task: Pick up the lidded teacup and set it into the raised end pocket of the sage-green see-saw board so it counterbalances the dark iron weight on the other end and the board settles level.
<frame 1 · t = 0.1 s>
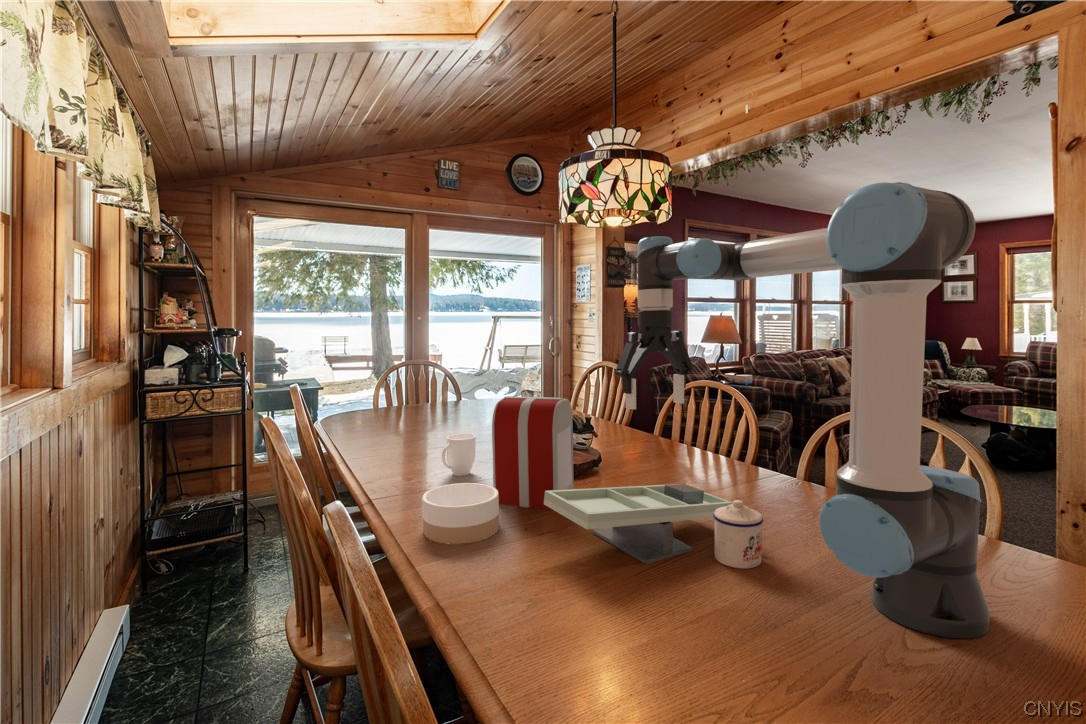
hand: (655, 405, 120), 28 cm above the table, fingers open, 13 cm apart
teacup with lid: (740, 557, 106), on the table
bowl: (461, 530, 124), on the table
fulcrum: (640, 541, 115), on the table
divided tray: (640, 503, 114), point 8 cm above the table, hinge at 7.3°, touching iron weight
mug: (458, 475, 167), on the table
iron weight: (683, 501, 120), point 7 cm above the table, tilted 7°, touching divided tray
red striped block: (534, 497, 145), on the table
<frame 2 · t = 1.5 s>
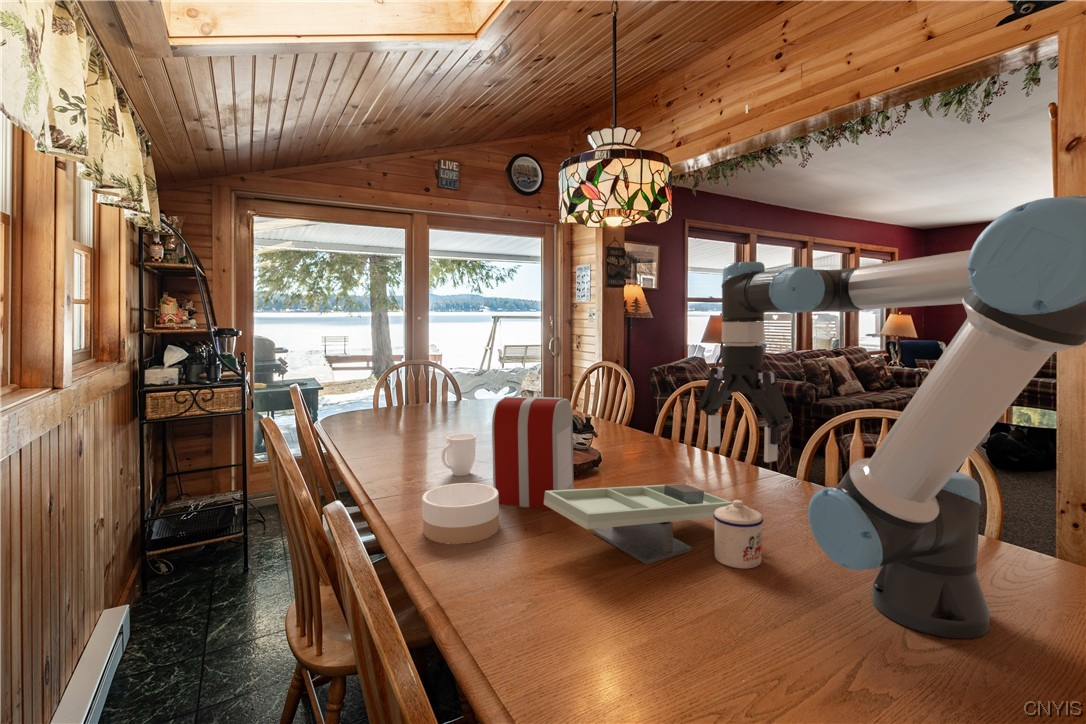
hand: (740, 453, 105), 21 cm above the table, fingers open, 13 cm apart
nothing on the table moved.
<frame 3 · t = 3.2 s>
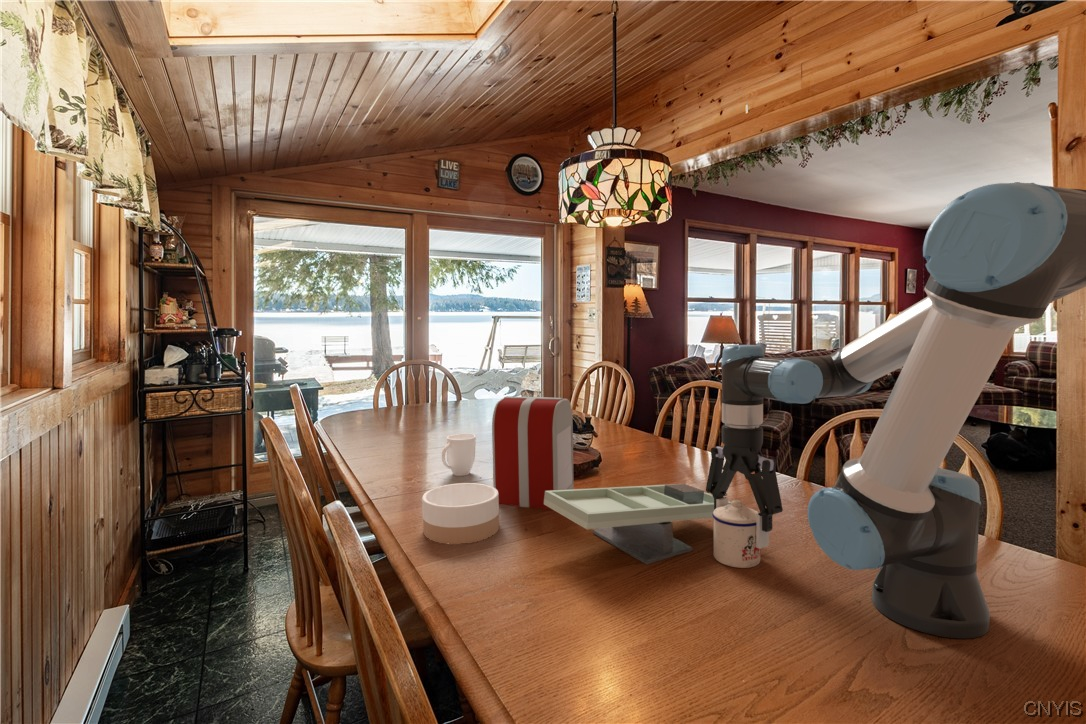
hand: (741, 537, 106), 4 cm above the table, fingers closed on teacup with lid, 9 cm apart
teacup with lid: (739, 557, 107), on the table, touching gripper
everything else where it was.
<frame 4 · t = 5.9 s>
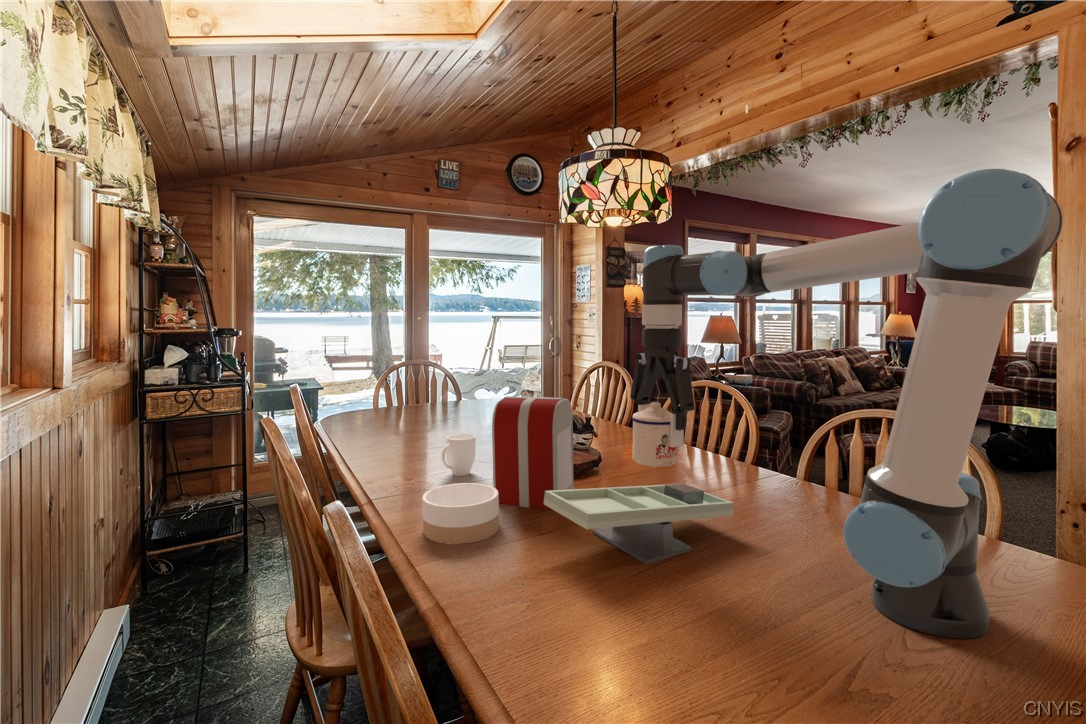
hand: (659, 440, 107), 23 cm above the table, fingers closed on teacup with lid, 9 cm apart
teacup with lid: (658, 460, 108), point 19 cm above the table, touching gripper
everything else where it was.
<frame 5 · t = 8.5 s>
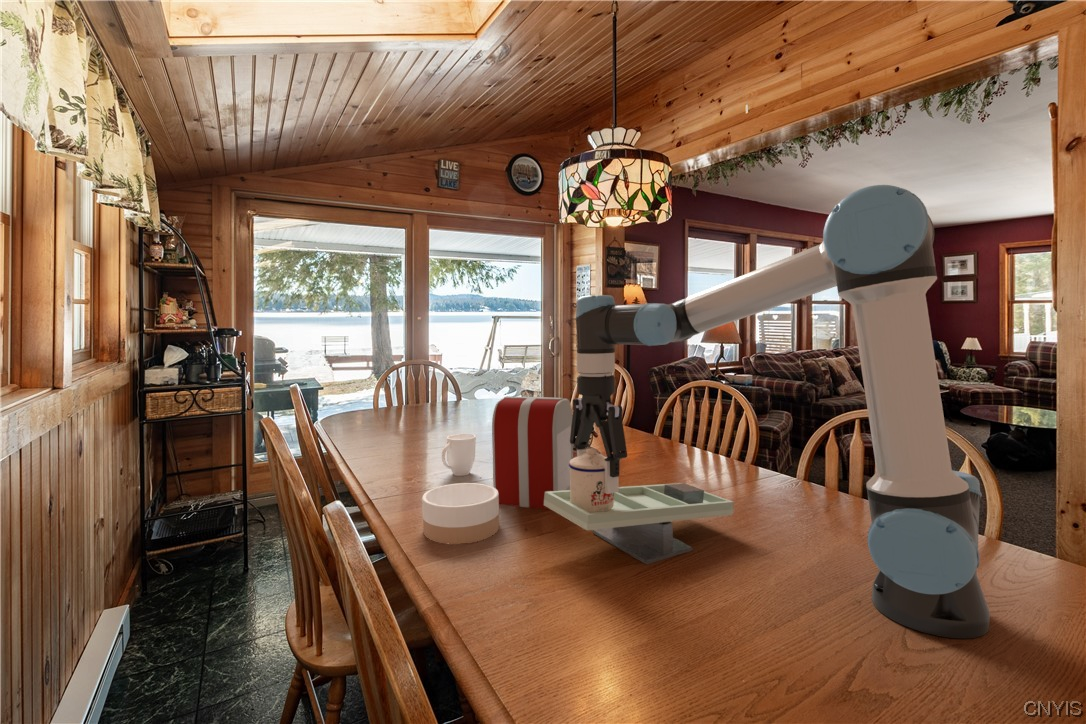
hand: (597, 485, 108), 14 cm above the table, fingers closed on teacup with lid, 9 cm apart
teacup with lid: (596, 505, 109), point 10 cm above the table, touching divided tray, gripper
divided tray: (640, 503, 114), point 8 cm above the table, hinge at 6.7°, touching iron weight, teacup with lid
everything else where it was.
when the fingers open (14 cm above the table, at t = 8.7 s): teacup with lid stays where it is, resting on divided tray.
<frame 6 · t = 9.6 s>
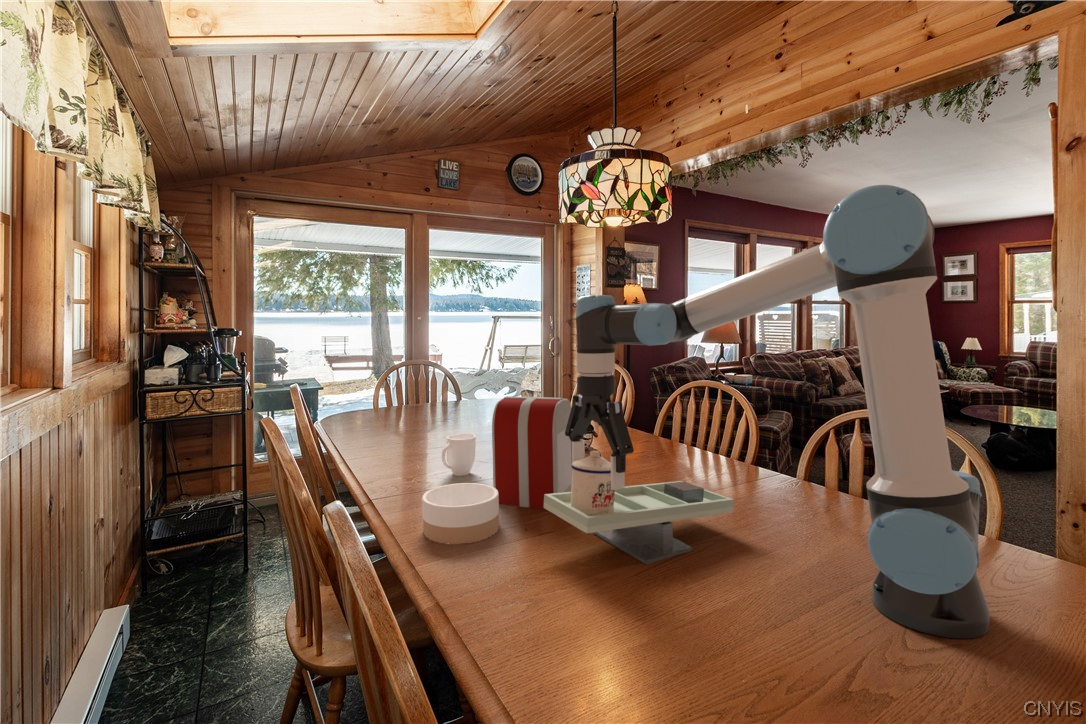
hand: (597, 479, 108), 15 cm above the table, fingers open, 13 cm apart
teacup with lid: (596, 509, 109), point 9 cm above the table, touching divided tray
divided tray: (640, 503, 114), point 8 cm above the table, hinge at 5.1°, touching iron weight, teacup with lid
everything else where it was.
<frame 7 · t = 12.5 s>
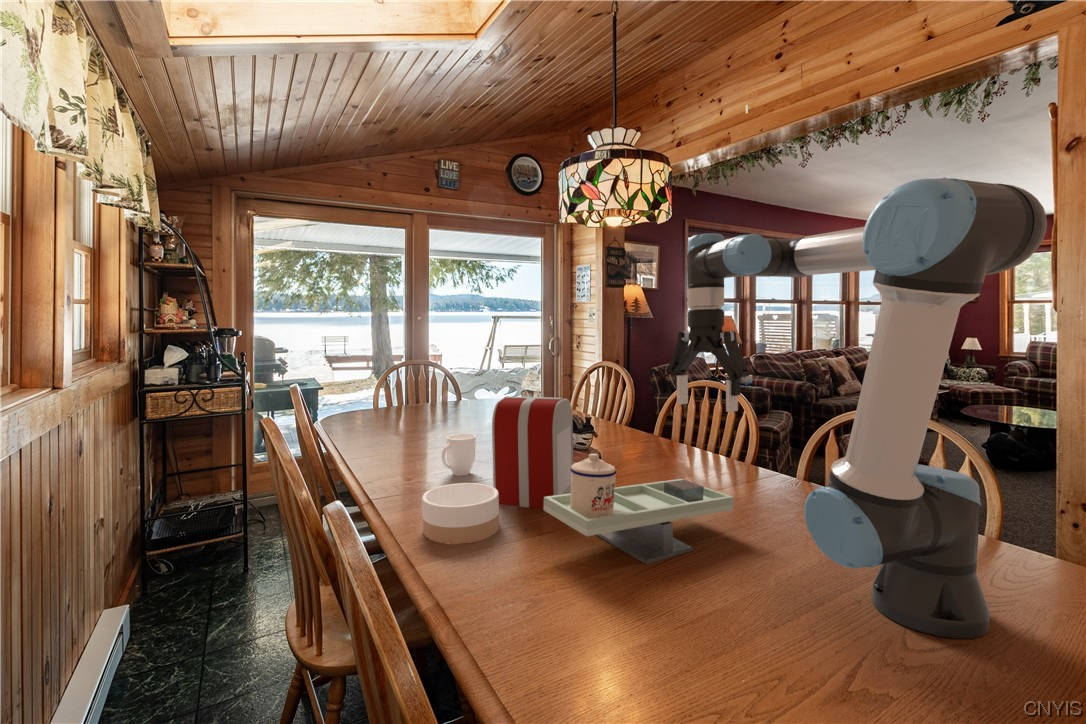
hand: (706, 407, 116), 28 cm above the table, fingers open, 13 cm apart
divided tray: (640, 503, 114), point 8 cm above the table, hinge at 3.5°, touching iron weight, teacup with lid
everything else where it was.
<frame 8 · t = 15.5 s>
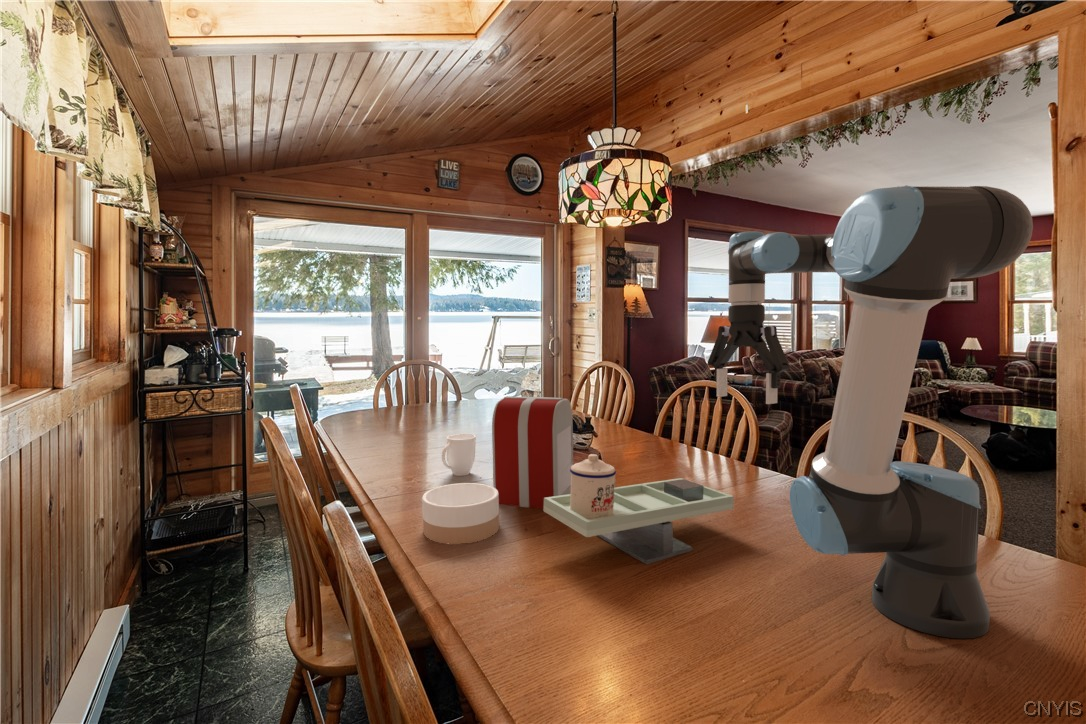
hand: (745, 399, 121), 29 cm above the table, fingers open, 13 cm apart
divided tray: (640, 503, 114), point 8 cm above the table, hinge at 2.9°, touching iron weight, teacup with lid
everything else where it was.
at the end: divided tray at +3° (first picture: +7°); teacup with lid inside the target area on the divided tray (0.5 cm from its centre), point 1.0 cm above the divided tray's base; teacup with lid tilted 3° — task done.
